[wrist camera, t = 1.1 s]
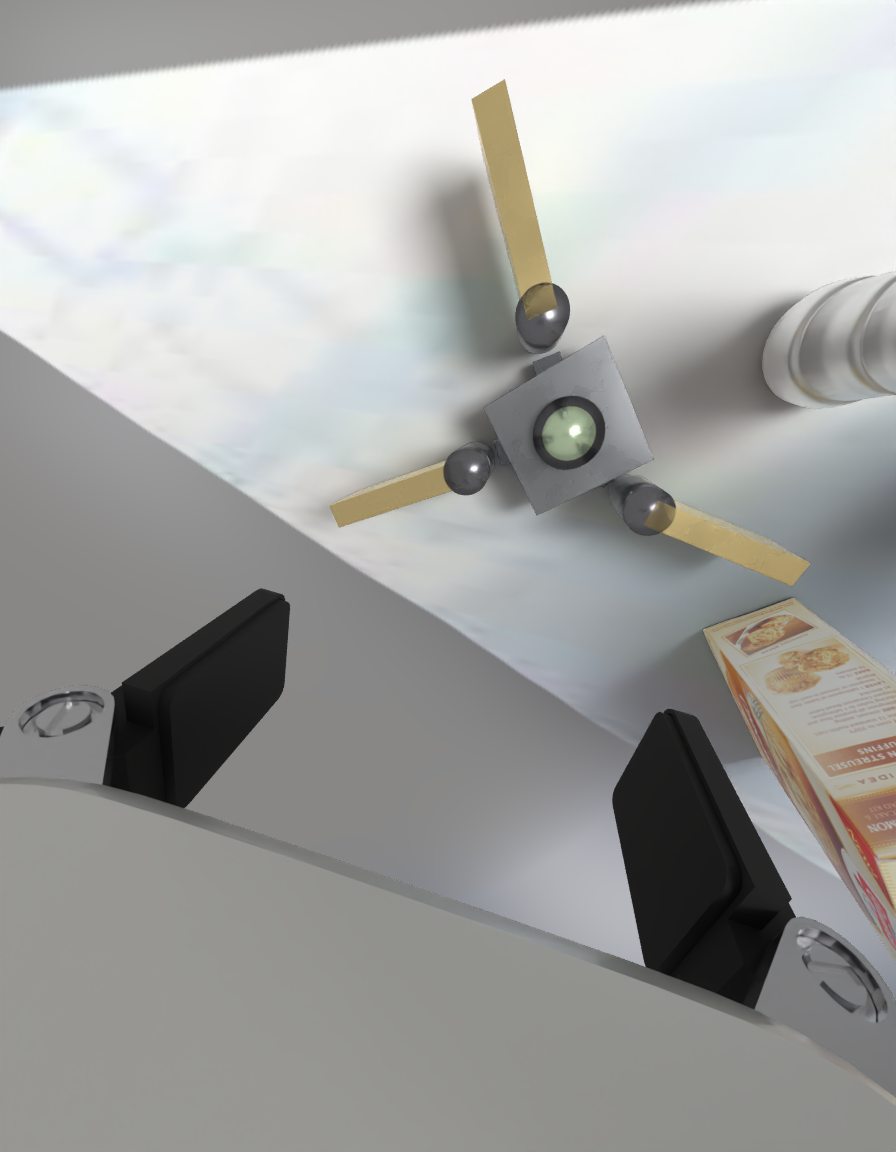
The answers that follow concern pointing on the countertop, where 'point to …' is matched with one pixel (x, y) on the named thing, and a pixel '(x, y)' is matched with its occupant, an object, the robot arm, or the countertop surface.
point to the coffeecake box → (823, 739)
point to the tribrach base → (569, 427)
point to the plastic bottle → (835, 344)
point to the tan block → (420, 485)
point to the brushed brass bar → (519, 224)
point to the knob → (700, 529)
